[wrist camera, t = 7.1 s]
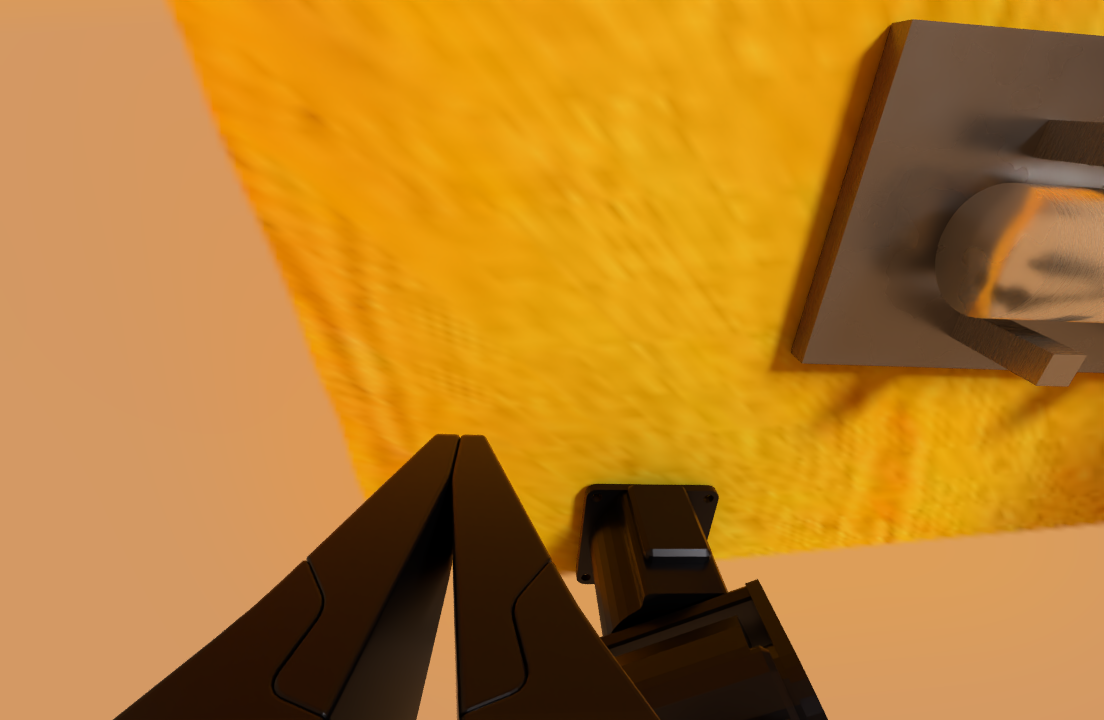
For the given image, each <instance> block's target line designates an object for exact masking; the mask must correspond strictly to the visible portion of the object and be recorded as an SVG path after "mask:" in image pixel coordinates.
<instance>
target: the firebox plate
mask: <svg viewBox="0 0 1104 720" xmlns="http://www.w3.org/2000/svg"><path fill="white" fill-rule="evenodd" d="M1002 183H1025V184H1041V185H1058V186H1074V187H1090V188H1104V36H1096V35H1084V34H1073V33H1062V32H1050V31H1039V30H1027V29H1016V28H1004V27H993V26H982V25H970V24H959V23H947V22H936V21H924V20H907V21H902V22H897V23H892V25H891V29H890V32H889V35H888V38H887V42H886V45H885V48H884V51H883V55H882V58H881V61H880V64H879V68H878V71H877V74H876V77H875V81H874V84H873V87H872V90H871V94H870V97H869V100H868V103H867V107H866V110H865V113H864V116H863V120H862V123H861V126H860V129H859V133H858V136H857V139H856V143H855V146H854V149H853V152H852V156H851V159H850V162H849V165H848V169H847V172H846V175H845V178H844V182H843V185H842V188H841V191H840V195H839V198H838V201H837V204H836V208H835V211H834V214H833V217H832V221H831V224H830V227H829V230H828V234H827V237H826V240H825V243H824V247H823V250H822V253H821V256H820V260H819V263H818V266H817V269H816V273H815V276H814V279H813V282H812V286H811V289H810V292H809V295H808V299H807V302H806V305H805V308H804V312H803V315H802V318H801V321H800V325H799V328H798V331H797V334H796V338H795V341H794V344H793V347H792V351H791V353H792V354H793V355H794V356H795V357H796V358H797V359H798V360H799V361H800V362H801V363H808V364H839V365H871V366H903V367H934V368H966V369H998V370H1010V371H1011V372H1013V373H1015V374H1017V375H1018V376H1020V377H1022V378H1024V379H1025V380H1027V381H1029V382H1031V383H1032V384H1034V385H1036V386H1069V384H1070V383H1071V381H1072V379H1073V378H1074V376H1075V374H1076V373H1077V372H1093V373H1104V323H1092V322H1066V321H1041V320H1016V319H990V318H974V317H970V316H966V315H964V314H961V313H960V312H958V311H956V310H955V309H954V308H952V307H951V306H950V305H949V304H948V303H947V302H946V300H945V299H944V297H943V296H942V294H941V292H940V290H939V287H938V284H937V280H936V275H935V258H936V251H937V247H938V243H939V241H940V238H941V235H942V233H943V231H944V229H945V227H946V225H947V223H948V222H949V220H950V219H951V217H952V216H953V215H954V213H955V212H956V211H957V210H958V209H959V207H960V206H962V205H963V204H964V203H965V202H966V201H967V200H968V199H969V198H971V197H972V196H973V195H975V194H977V193H978V192H980V191H982V190H984V189H986V188H988V187H991V186H994V185H997V184H1002Z"/></svg>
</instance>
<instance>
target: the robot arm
mask: <svg viewBox="0 0 1104 720" xmlns="http://www.w3.org/2000/svg"><path fill="white" fill-rule="evenodd" d="M594 494H599V495H598V496H593V495H594ZM706 495H709V496H708V497H705V496H706ZM718 499H719V496H718V494H717V492H716V490H715V488H714V487H712V486H709V485H641V484H593V485H591V486H589V487H588V488H587V489H586V492H585V500H584V508H583V516H582V525H581V533H580V541H579V550H578V558H577V566H576V577H577V581H578V582H580V583H582V584H595V589H596V595H597V602H598V609H599V615H600V621H601V628H602V634H603V637H599V636H598V634H597V633H596V631H595V630H594V628H593V627H592V625H591V624H590V622H589V621H588V620H587V618H586V617H585V615H584V614H583V612H582V611H581V609H580V608H579V607H578V605H577V603H576V601H575V600H574V598H573V596H572V594H571V593H570V591H569V590H568V588H567V586H566V584H565V583H564V581H563V579H562V577H561V575H560V574H559V572H558V570H557V568H556V566H555V564H554V563H553V562H552V560H551V557H550V555H549V554H548V552H547V550H546V548H545V546H544V544H543V543H542V541H541V539H540V537H539V535H538V533H537V531H536V530H535V528H534V526H533V524H532V522H531V520H530V518H529V517H528V515H527V513H526V511H525V509H524V507H523V505H522V504H521V502H520V500H519V498H518V496H517V494H516V493H515V491H514V489H513V487H512V485H511V483H510V481H509V480H508V478H507V476H506V474H505V472H504V470H503V468H502V467H501V465H500V463H499V461H498V459H497V457H496V455H495V454H494V452H493V450H492V448H491V446H490V444H489V442H488V441H487V439H486V437H485V436H483V435H463V436H461V438H460V437H459V435H455V434H437V435H435V436H434V437H433V438H432V439H431V440H429V441H428V442H427V443H426V444H425V445H424V446H423V447H422V448H421V449H420V450H419V451H418V452H417V453H416V454H415V455H414V456H413V457H412V458H411V459H410V460H408V461H407V462H406V463H405V464H404V465H403V466H402V467H401V468H400V469H399V470H398V471H397V472H396V473H395V474H394V475H393V476H392V477H391V478H390V479H389V480H387V481H386V482H385V483H384V484H383V485H382V486H381V487H380V488H379V489H378V490H377V491H376V492H375V493H374V494H373V495H372V496H371V497H370V498H369V499H368V500H366V501H365V502H364V503H363V504H362V505H361V506H360V507H359V508H358V509H357V510H356V511H355V512H354V513H353V514H352V515H351V516H350V517H349V518H348V519H347V520H345V521H344V522H343V524H342V525H340V526H339V527H338V528H337V529H336V530H335V531H334V532H333V533H332V534H331V535H330V536H329V537H328V538H327V539H326V540H325V541H323V542H322V543H321V544H320V545H319V546H318V547H317V548H316V549H315V550H314V551H313V552H312V553H311V554H310V555H309V556H308V557H307V561H303V562H301V563H300V564H299V565H298V566H297V567H296V568H295V569H294V570H293V571H292V572H291V573H290V574H288V575H287V576H286V577H285V578H284V579H283V580H282V581H281V582H280V583H279V584H278V585H277V586H275V587H274V588H273V589H272V590H271V591H270V592H269V593H268V594H267V595H265V596H264V597H263V598H262V599H261V600H260V601H259V602H258V603H257V604H256V605H254V606H253V607H252V608H251V609H250V610H249V611H247V612H246V613H245V614H244V615H242V616H241V617H240V618H239V619H238V620H236V621H235V622H234V623H233V624H232V625H230V626H229V627H228V628H227V629H226V630H224V631H223V632H222V633H221V634H220V635H218V636H217V637H216V638H215V639H213V640H212V641H211V642H210V643H208V644H207V645H206V646H205V647H203V648H202V649H201V650H200V651H198V652H197V653H196V654H195V655H193V656H192V657H191V658H190V659H188V660H187V661H186V662H185V663H183V664H182V665H181V666H180V667H178V668H177V669H176V670H175V671H173V672H172V673H171V674H170V675H168V676H167V677H166V678H165V679H163V680H162V681H161V682H160V683H158V684H157V685H156V686H154V687H153V688H152V689H151V690H150V691H148V692H147V693H146V694H145V695H143V696H142V697H141V698H139V699H138V700H137V701H136V702H134V703H133V704H132V705H131V706H129V707H128V708H127V709H126V710H125V711H123V712H122V713H121V714H119V715H118V716H117V717H116V718H115V719H113V720H416V719H417V714H418V710H419V706H420V701H421V697H422V693H423V688H424V684H425V679H426V675H427V671H428V667H429V663H430V658H431V654H432V650H433V645H434V641H435V637H436V632H437V628H438V624H439V619H440V615H441V611H442V606H443V602H444V598H445V594H446V589H447V585H448V581H449V576H450V571H451V566H452V560H453V590H454V626H455V661H456V662H455V663H456V699H457V720H828V719H827V717H826V715H825V712H824V710H823V709H822V706H821V704H820V702H819V700H818V698H817V695H816V693H815V691H814V689H813V688H812V685H811V683H810V681H809V679H808V677H807V675H806V673H805V671H804V669H803V667H802V665H801V663H800V661H799V659H798V657H797V655H796V653H795V651H794V649H793V647H792V645H791V643H790V641H789V639H788V637H787V635H786V633H785V631H784V630H783V627H782V626H781V623H780V621H779V619H778V617H777V616H776V614H775V612H774V610H773V608H772V606H771V604H770V602H769V600H768V598H767V596H766V594H765V592H764V590H763V588H762V586H761V584H760V582H759V581H758V579H757V580H754V581H751V582H749V583H746V586H745V587H742V588H739V589H736V590H733V591H730V592H728V591H727V588H726V586H725V584H724V581H723V579H722V576H721V574H720V572H719V569H718V567H717V564H716V562H715V560H714V557H713V555H712V552H711V549H710V547H709V544H708V542H707V539H708V535H709V532H710V528H711V524H712V521H713V517H714V513H715V510H716V506H717V503H718ZM584 574H586V575H584Z"/></svg>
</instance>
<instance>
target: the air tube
mask: <svg viewBox="0 0 1104 720" xmlns="http://www.w3.org/2000/svg"><path fill="white" fill-rule="evenodd" d="M935 275H936V280H937V284H938V287H939V290H940V292H941V294H942V296H943V297H944V299H945V300H946V302H947V303H948V304H949V305H950V306H951V307H952V308H954V309H955V310H956V311H958V312H960V313H961V314H964V315H966V316H970V317H974V318H990V319H1016V320H1041V321H1066V322H1092V323H1104V188H1090V187H1074V186H1058V185H1041V184H1025V183H1002V184H997V185H994V186H991V187H988V188H986V189H984V190H982V191H980V192H978V193H977V194H975V195H973V196H972V197H971V198H969V199H968V200H967V201H966V202H965V203H964V204H963V205H962V206H960V207H959V209H958V210H957V211H956V212H955V213H954V215H953V216H952V217H951V219H950V220H949V222H948V223H947V225H946V227H945V229H944V231H943V233H942V235H941V238H940V241H939V243H938V247H937V251H936V258H935Z"/></svg>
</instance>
